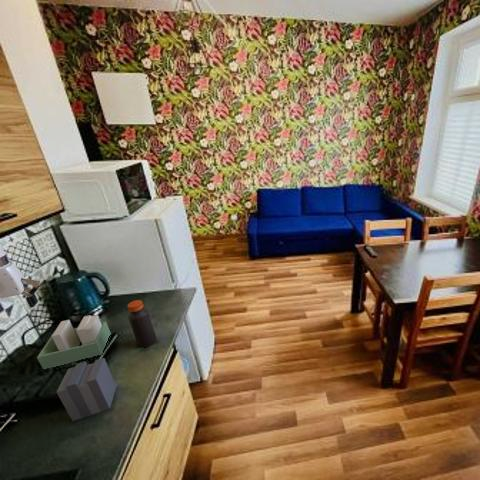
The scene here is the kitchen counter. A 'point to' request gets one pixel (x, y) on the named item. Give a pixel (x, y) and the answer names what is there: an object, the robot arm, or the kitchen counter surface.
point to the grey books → (87, 389)
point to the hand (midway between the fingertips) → (15, 308)
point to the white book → (65, 336)
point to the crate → (73, 350)
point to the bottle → (141, 324)
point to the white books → (89, 329)
